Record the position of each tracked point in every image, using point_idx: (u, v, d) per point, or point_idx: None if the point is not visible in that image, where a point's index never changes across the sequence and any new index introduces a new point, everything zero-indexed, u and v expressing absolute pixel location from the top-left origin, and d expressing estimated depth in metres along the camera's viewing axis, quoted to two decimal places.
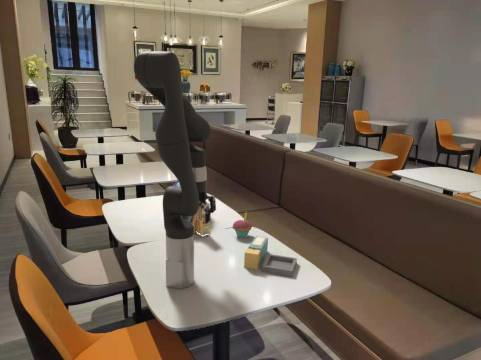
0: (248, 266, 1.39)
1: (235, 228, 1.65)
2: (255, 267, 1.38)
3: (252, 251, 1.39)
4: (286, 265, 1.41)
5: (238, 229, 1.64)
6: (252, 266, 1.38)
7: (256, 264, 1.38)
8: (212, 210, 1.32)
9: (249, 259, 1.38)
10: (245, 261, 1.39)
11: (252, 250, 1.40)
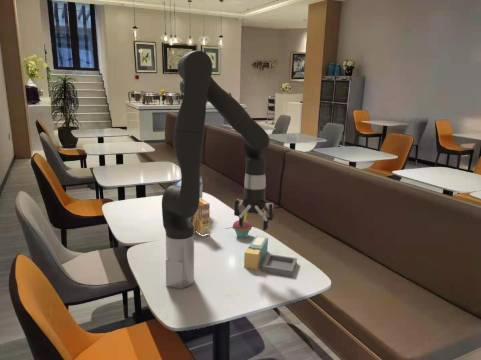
0: (248, 266, 1.39)
1: (235, 228, 1.65)
2: (255, 267, 1.38)
3: (252, 251, 1.39)
4: (286, 265, 1.41)
5: (238, 229, 1.64)
6: (252, 266, 1.38)
7: (256, 264, 1.38)
8: (271, 217, 1.33)
9: (249, 259, 1.38)
10: (245, 261, 1.39)
11: (252, 250, 1.40)
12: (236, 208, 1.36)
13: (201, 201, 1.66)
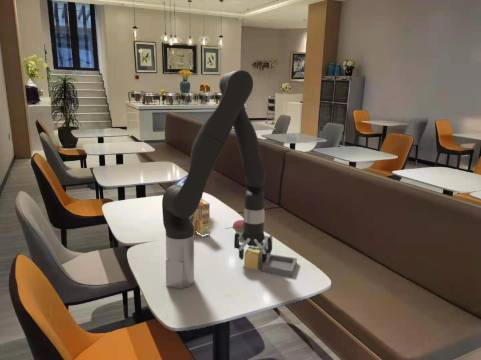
0: (248, 266, 1.39)
1: (235, 228, 1.65)
2: (255, 267, 1.38)
3: (252, 251, 1.39)
4: (286, 265, 1.41)
5: (238, 229, 1.64)
6: (252, 266, 1.38)
7: (256, 264, 1.38)
8: (269, 250, 1.36)
9: (249, 259, 1.38)
10: (245, 261, 1.39)
11: (252, 250, 1.40)
12: (236, 241, 1.39)
13: (201, 201, 1.66)
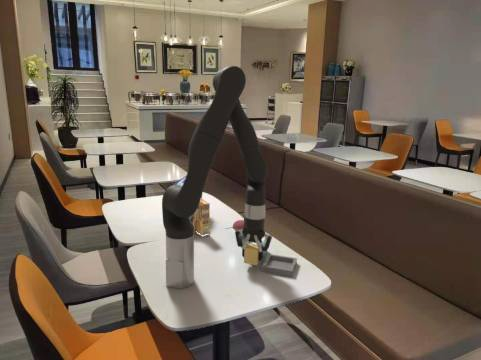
0: (248, 261, 1.37)
1: (235, 228, 1.65)
2: (255, 263, 1.37)
3: (252, 247, 1.37)
4: (286, 265, 1.41)
5: None
6: (252, 262, 1.37)
7: (256, 260, 1.36)
8: (266, 249, 1.35)
9: (249, 255, 1.37)
10: (245, 256, 1.37)
11: (252, 245, 1.38)
12: (238, 239, 1.38)
13: (201, 201, 1.66)
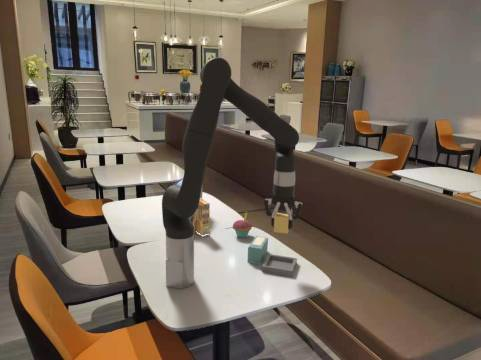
0: (278, 230, 1.35)
1: (235, 228, 1.65)
2: (285, 231, 1.34)
3: (282, 215, 1.35)
4: (286, 265, 1.41)
5: (238, 229, 1.64)
6: (282, 230, 1.35)
7: (286, 228, 1.34)
8: (296, 216, 1.33)
9: (279, 223, 1.34)
10: (275, 225, 1.35)
11: (282, 214, 1.36)
12: (267, 208, 1.35)
13: (201, 201, 1.66)
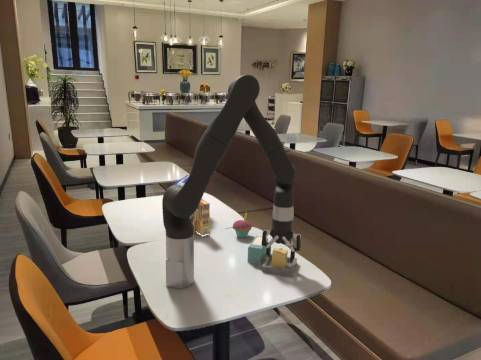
0: (276, 266, 1.38)
1: (235, 228, 1.65)
2: (283, 267, 1.38)
3: (279, 251, 1.38)
4: (286, 265, 1.41)
5: (238, 229, 1.64)
6: (280, 266, 1.38)
7: (284, 264, 1.37)
8: (298, 248, 1.35)
9: (277, 259, 1.38)
10: (273, 261, 1.38)
11: (279, 250, 1.39)
12: (263, 238, 1.38)
13: (201, 201, 1.66)
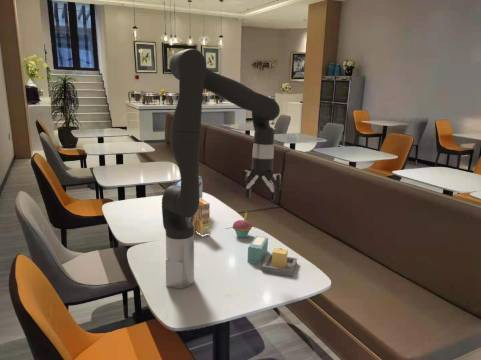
0: (276, 266, 1.38)
1: (235, 228, 1.65)
2: (283, 267, 1.38)
3: (279, 251, 1.38)
4: (286, 265, 1.41)
5: (238, 229, 1.64)
6: (280, 266, 1.38)
7: (284, 264, 1.37)
8: (278, 188, 1.33)
9: (277, 259, 1.38)
10: (273, 261, 1.38)
11: (279, 250, 1.39)
12: (243, 179, 1.37)
13: (201, 201, 1.66)
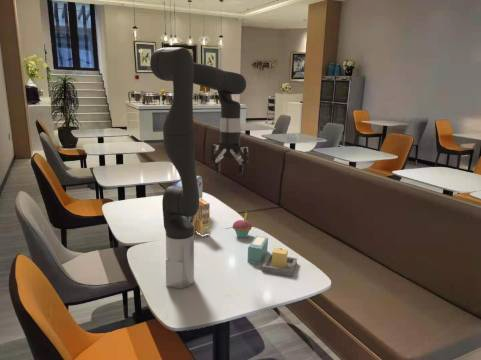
0: (276, 266, 1.38)
1: (235, 228, 1.65)
2: (283, 267, 1.38)
3: (279, 251, 1.38)
4: (286, 265, 1.41)
5: (238, 229, 1.64)
6: (280, 266, 1.38)
7: (284, 264, 1.37)
8: (245, 161, 1.38)
9: (277, 259, 1.38)
10: (273, 261, 1.38)
11: (279, 250, 1.39)
12: (212, 153, 1.41)
13: (201, 201, 1.66)
